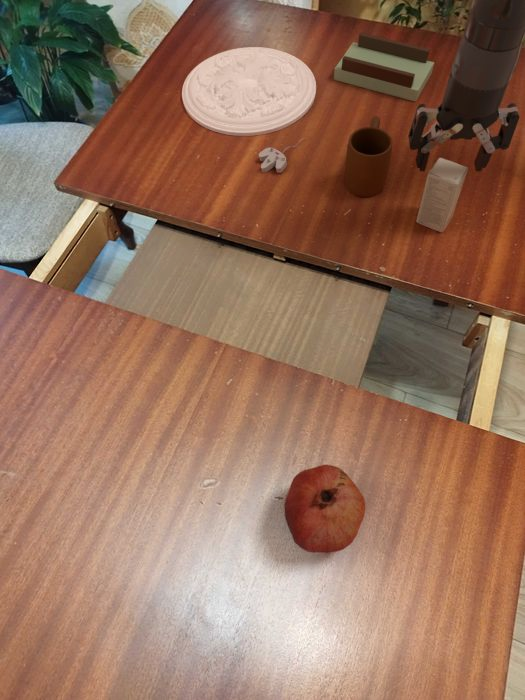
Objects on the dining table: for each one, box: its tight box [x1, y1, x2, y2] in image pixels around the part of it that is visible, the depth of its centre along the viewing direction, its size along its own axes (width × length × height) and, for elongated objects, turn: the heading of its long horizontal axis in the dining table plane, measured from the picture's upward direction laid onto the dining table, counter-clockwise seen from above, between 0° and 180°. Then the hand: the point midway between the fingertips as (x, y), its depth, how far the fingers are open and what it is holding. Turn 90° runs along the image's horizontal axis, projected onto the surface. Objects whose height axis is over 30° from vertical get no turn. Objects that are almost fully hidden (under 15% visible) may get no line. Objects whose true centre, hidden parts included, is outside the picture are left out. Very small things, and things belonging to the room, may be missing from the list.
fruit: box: [283, 464, 366, 554], centre depth 66 cm, size 11×10×10 cm
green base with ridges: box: [333, 32, 435, 103], centre depth 112 cm, size 18×10×5 cm, turn 63°
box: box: [415, 157, 469, 233], centre depth 89 cm, size 5×4×11 cm
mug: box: [343, 115, 394, 198], centre depth 96 cm, size 12×8×9 cm, turn 166°
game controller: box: [258, 137, 307, 174], centre depth 103 cm, size 6×12×3 cm, turn 153°
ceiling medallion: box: [181, 46, 317, 137], centre depth 112 cm, size 28×28×3 cm
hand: (449, 167), depth 84 cm, fingers open, 8 cm apart
